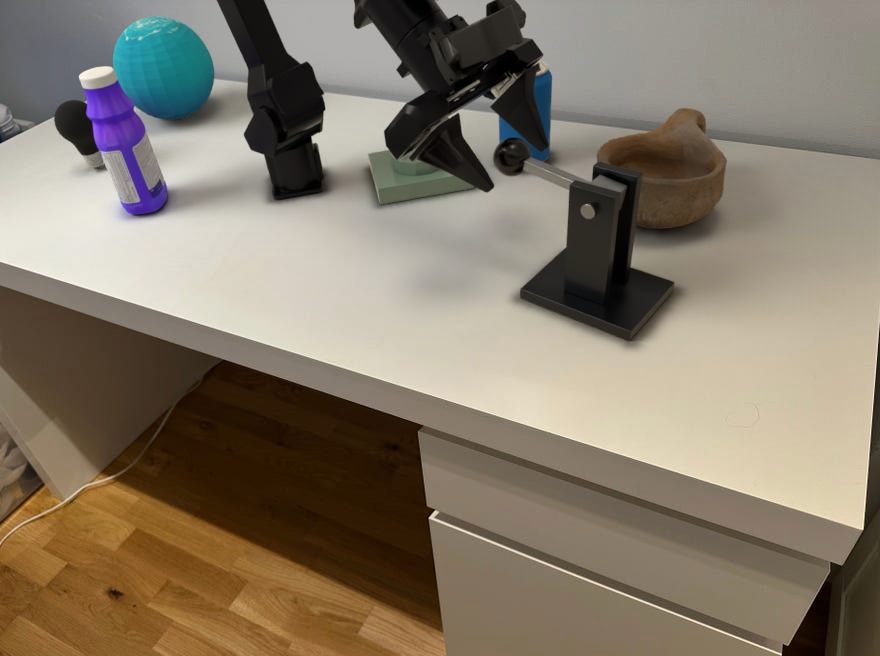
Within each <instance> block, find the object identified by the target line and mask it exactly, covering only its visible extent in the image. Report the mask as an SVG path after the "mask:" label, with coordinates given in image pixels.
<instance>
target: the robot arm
mask: <svg viewBox="0 0 880 656" xmlns="http://www.w3.org/2000/svg"><path fill="white" fill-rule="evenodd" d="M216 2H217V5H218V7H219V9H220V11H221V13H222V15H223V17H224V19H225V21H226V25H227V26H228V28H229V31H230V32H231V34H232V37H233V39H234V41H235V44H236V46H237V47H238V50H239V52H240V55H241V56H242V58H243V61H244V63H245V65H246V67H247V87H246V88H247V89H246V98H247V101H248V104H249V107H250V110H251V112H252V117H251V118H250V121H249V123H248V125H247V126H246V128H245V130H244V132H243V137H244V140H245V141H246V143H247V145H248V147H249V150H250V151H251V152H255V153H258V154H261V155H263V157H264V161H265V164H266V168H267V171H268V175H269V180H270V183H271V192H272V193H271V194H272V195H271V196H272V199H274V200H280V199H285V198H291V197H297V196H302V195H309V194H314V193H320V192H322V191H323V181H324V180H325V173H324V168H323V163H322V158H321V154H320V149H319V144H318V143H317V142H313V139H312V138H313V137H314V136H315V135H317V134H320V133H322V132H323V129H324V116H325V115H324V114H325V111H326V109H327V108H326V103H325V99H324V95H325V92H324V90H323V89H322V87H321V86H320V84H319V82H318V80H317V76H316V74H315V70H314V68H313V66H312V64H310V62H308V60H307V61H304V62H299V61H298V60H297V59H295V58H294V57H293V56H292V55H291V54H289V52H288V51H287V49H286V47H285V45H284V41H282V37H281V35H280V34H279V33H280V32H279V31H278V29H277V27H276V24H275V21H274V19H273V17H272V15H271V12H270V10H269V8H268V5H267V3H266V0H216ZM353 2H354V3H353V4H354V12H353V26H354V28H355V29H357V30H360V29H362V28H364V27H366V26H368V25H370V24H373V25H374V26H375V28H376V29H377V31H378V33H380V35H381V36H382V37H383V39H384V41H386V43H387V44H388V45H389V47H390V48H391V50H392V51H393V53H395V55H396V57H397V58H398V59H399V60H400V64H399V65H398V67H397V68H396V69H395V71H396V72H397V73H398V75H399V76H400V78H401V79H405V78H406V77H408V76H410V75H411V76H412V78H413V79H414V80H415V82H416V84H417V85H418V86H419V87H420V89H421V90H422V91H423V93H422V94H420V95H418V96H416V97H415V98H413V99H411V100H410V101H408V102H406V103H405V104H404V105H403V106H402V108H401V109H399V111H398V112H397V114H396V115H395V116H394V118H393V119H392V120H391V121H390V123H388V125H387V126H386V127H385V129H384V130H383V135H384V136H383V137H384V143H385V147H386V148H387V150H389V151H390V152H391V153H392V155H393V156H394V157H395V159H396V160H400V159H401V158H403V157H404V156H406V155H408V154H409V153H411V152H412V151H414V150H415V151H414V152H413V154H412V155H411V156H410V157H409V160H410V161H411V162H414V161H416V160H419V161H422V162H424V163H426V164H429V165H431V166H434V167H436V168H438V169H441V170H443V171H445V172H447V173H449V174H451V175H453V176H455V177H457V178H459V179H461V180H463V181H465V182H467V183H469V184H471V185H472V186H474V188H476V189H478V190H480V191H481V192H484V193H485V194H487V193H489V192H491V191H492V190H493V189H494V188H495V184H494V181H493V180H492V178H491V176H490V174H489V172H488V171H487V169H486V168H485V166H484V165H483V163H482V162H481V160H480V159H479V158H478V157H477V155H476V153H475V152H474V150H473V149H472V148H471V146H470V145H469V143H468V142H467V140H466V139H465V137H464V135H463V129H462V123H461V114H460V113H459V112H458V111H460V110H462V109H463V108H465V107H466V106H468V105H470V104H471V103H473V102H474V101H476V100H479V99H480V98H481V97H482V96H483V97H484V98H486V99H488V100H491V101H494V100H495V101H494V102H492V104H491V105H489V107H490V109H491V110H492V111H493V112H494V113H496V115H497V116H498V117H499V116H500V117H501V118H502V119H503V120H504V121H506V122H507V123H508V124H509V125H510V126H511V127H512V128H513V129H514V130H515V131H516V132H517V133H519V134H520V135H521V136H522V137H523V138H524V139H525V140H526V141H527V142H528V143H529V144H531V145H532V146H533V147H535V148H536V149H537V150H538V151H540V152H543V151H544V150H545V149H547V148H548V147H549V143H548V140H547V137H546V133H545V130H544V127H543V124H542V120H541V117H540V114H539V110H538V107H537V103H536V99H535V94H534V83H535V77H536V73H537V72H538V71H539V70H540V64H539V63H537V62H538V61H539V60H542V58H543V57H544V53H543V52H542V50H541V49H540V47H539V46H538V44H537V43H536V42H535V40H534V39H533V38H528V37H524V35H523V34H522V30H521V29H523V28H525V25H526V22H527V20H526V19H527V13H526V11H525V10H523V8H522V6H521V5H520V4H519V3H518V2H517V0H491V1H490V2H488V3H487V4H486V6H485V16H484V17H483V18H481V19H479V20H476V21H474V22H472V23H471V24H468V22H467V21H466V19H465V17H463V16H461V15H459V14H458V13H457V14H455V15H453V16H451V17H449V18H448V16H447V15H446V13H445V12H444V11H443V9H442V8H441V6H440V5H439V4H438V2H437V0H353ZM536 63H537V64H536ZM535 64H536V65H535ZM455 113H456V114H455ZM453 114H454V115H453ZM450 116H451V117H450Z"/></svg>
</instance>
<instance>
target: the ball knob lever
mask: <svg viewBox="0 0 880 656" xmlns="http://www.w3.org/2000/svg"><path fill="white" fill-rule="evenodd" d="M492 160H493V164H494V167H495V168H496V170H497V171H498V173H500V174H501V175H503V176H506V177H509V178H510V177H512V178H513V177H517V176H521V175H522V174H524V173H525V172H527V173H529V174H531V175H534V176H535V177H538V178H541V179H542V180H545V181H547V182H549V183H552V184H553V185H557V186H559V187H561V188H562V189H566V190H568V191H569V188H570V184H571V183H572V182H574V181H575V180H577V181H581V182H585V183H588V184H592V185H595V186H599V187H603V188H606V189H610V190H614V191H617V192H621V195H620V204H619V210H620V209H621V208H622V204H623V201H624V197H625V193H626V190H627V186H626V185H624V184H622V183H619V182H617V181H614V180H612V179H609V178H607V177H605V176H602V175H599V176H598V177H596V178H595V179H594V180H593V181H592V180H591V181H589V180H588V179H584V178H583V177H580V176H578V175H575V174H572V173H570V172H568V171H566V170H563V169H561V168H558V167H556V166H554V165H552V164H549V163H547V162H545V161H543V162H542V161H540V160H537V159H535V158H532V157H531V151H530V148H529V146H528V145H527V143H526V142H524V141H523V140H522V139H519V138H515V137H511V138H507V139H504V140H503V141H501V142H500V143H498V144H497V145H496V147H495V149H494V151H493V155H492Z"/></svg>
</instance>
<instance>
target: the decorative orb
mask: <svg viewBox="0 0 880 656" xmlns="http://www.w3.org/2000/svg"><path fill="white" fill-rule="evenodd" d="M112 66H113V69H114V71H115V74H116V76H117V78H118V81H119V83H120V86H121V88H122V89H123V91H124V92H125V94H126V95H127V96H128V97H129V98H130V99H131V100H132V101H133V102H134V108H136V109H138V110H139V111H141V112H143V113H144V114H146V115H148V116H150V117H152V118H155V119H161V120H164V121H165V120H166V121H174V120H176V121H177V120H182V119H184V118H187V117H190V116H191V115H193V114H196V112H198V111H199V110H200V109H201V108H202V107H203V106H204V105H205V104H206V103H207V101H208V100H209V98H210V97H211V96H210V95H211V93H212V90H213V86H214V84H215V66H214V61H213V58H212V55H211V53H210V50H209V49H208V47H207V45H206V44H205V42H204V41H203V40H202V38H201V37H200V35H199V34H198V33H197V32H195V30H194V29H193V28H191V27H189V26H188V25H187V24H186V23H183V22H181V21H180V20H176V19H174V18H171V17H167V16H166V17H165V16H158V15H157V16H155V15H154V16H148V17H143V18H141V19H138V20H136V21H134V22H133V23H131V24H130V25H128V26H127V27H126V28H125V30H123V32H122V33H121V34H120V36H119V37H118V39H117V40H116V44H115V46H114V49H113V55H112Z"/></svg>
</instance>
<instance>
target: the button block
mask: <svg viewBox="0 0 880 656" xmlns="http://www.w3.org/2000/svg"><path fill="white" fill-rule="evenodd" d="M367 156H368V162H369V168H370V173H371V177H372V180H373V183H374V187H375V191H376V195H377V199H378V202H379V205H380V206H381V205H386V204H392V203H398V202H403V201H408V200H409V201H410V200H414V199H420V198H426V197H431V196H437V195H443V194H450V193H454V192H455V193H456V192H461V191H465V190H466V191H467V190H471V189H474V188H475V187H474V186H472V185H471V184H469V183H467V182H465V181H463V180H461V179H459V178H457V177H455V176H453V175H451V174H449V173H447V172H445V171H443V170H441V169H438V168H436V167H434V166H431V165H429V164H426V163H424V162H422V161H419V160H416V161H414V162H411V161H410V160H409V158H406V157H403V158H401V159H400V160H396V159H395V157H394V156H393V155H392V153H391V152H390V151H389V149H387V150H380V151H376V152H371V153H367Z"/></svg>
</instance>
